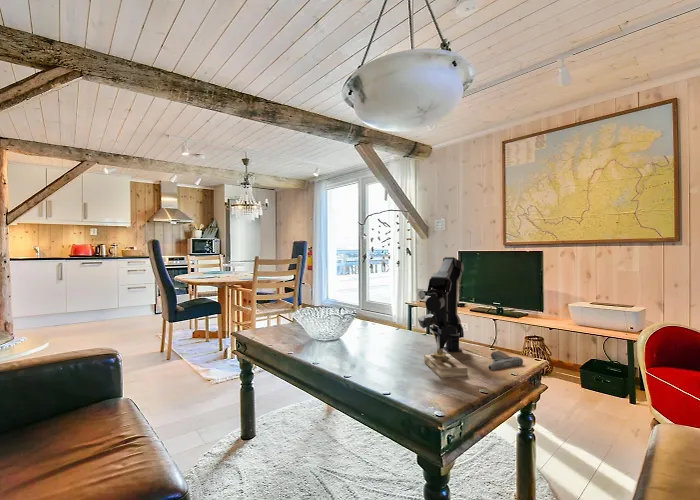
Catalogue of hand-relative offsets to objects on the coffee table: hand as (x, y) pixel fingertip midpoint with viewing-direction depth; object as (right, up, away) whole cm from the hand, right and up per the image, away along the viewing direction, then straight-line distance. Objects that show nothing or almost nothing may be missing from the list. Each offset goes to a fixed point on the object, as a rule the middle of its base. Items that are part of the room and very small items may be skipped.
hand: (440, 347), depth 140 cm
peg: (0, -3, 0) cm, 3 cm away
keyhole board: (+1, -7, -5) cm, 9 cm away
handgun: (+23, -7, +2) cm, 24 cm away
